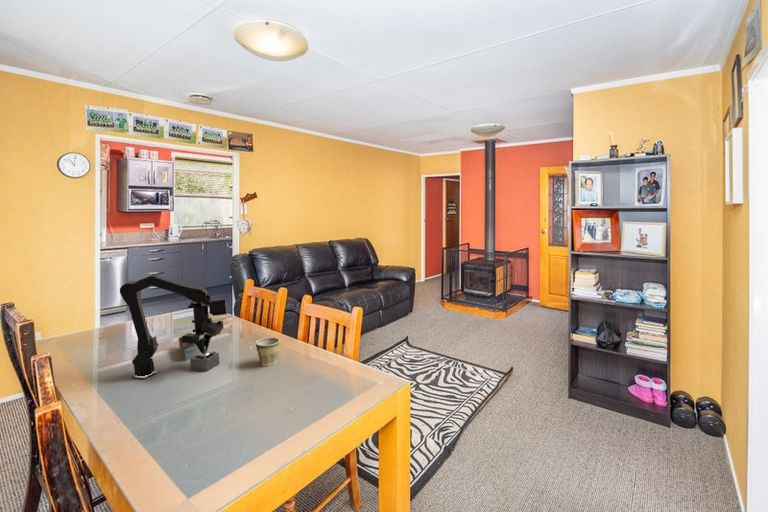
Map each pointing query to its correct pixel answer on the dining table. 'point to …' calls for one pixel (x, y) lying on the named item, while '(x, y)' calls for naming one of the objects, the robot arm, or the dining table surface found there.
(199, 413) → the dining table surface
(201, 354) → the plunger
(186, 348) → the beverage carton
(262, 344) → the ceramic cup
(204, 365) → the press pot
